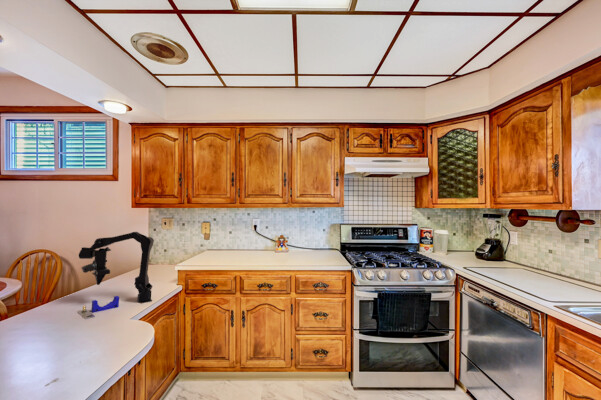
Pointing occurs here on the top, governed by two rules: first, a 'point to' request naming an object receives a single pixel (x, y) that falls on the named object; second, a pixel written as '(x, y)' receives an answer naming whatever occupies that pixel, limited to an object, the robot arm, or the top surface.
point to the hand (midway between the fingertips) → (98, 284)
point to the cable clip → (109, 306)
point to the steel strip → (85, 313)
